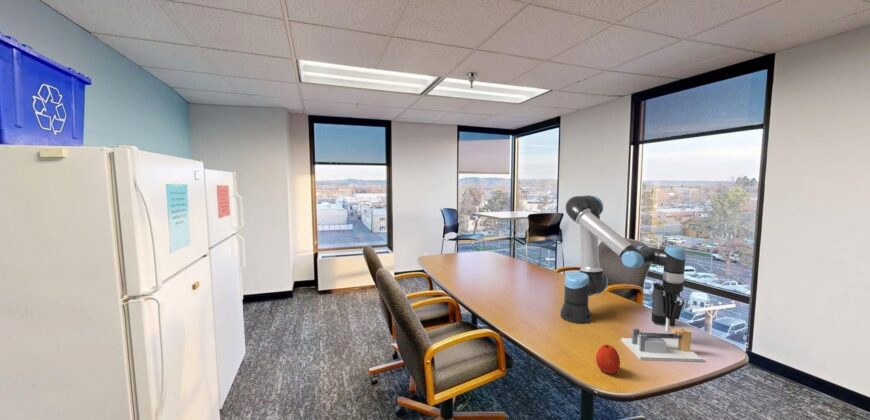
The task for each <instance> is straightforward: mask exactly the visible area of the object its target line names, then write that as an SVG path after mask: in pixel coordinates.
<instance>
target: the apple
mask: <svg viewBox="0 0 870 420" xmlns="http://www.w3.org/2000/svg"><path fill="white" fill-rule="evenodd" d="M595 362H596V364H597V367H598V369H599V370H600V371H602V372H604V373H606V374H610V375H613V374H615V373H617V372H618V371H619V369H620V367H621V366H620V365H621V359H620V355H619V353H618V351H617V349H616V348H615V347H614V346H613V345H610V344H603V345H601V346H600V347H599V348H598V350H597V352H596V353H595Z"/></svg>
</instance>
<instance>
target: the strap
mask: <svg viewBox="0 0 870 420" xmlns="http://www.w3.org/2000/svg"><path fill="white" fill-rule="evenodd" d="M635 333H636V334H637V335H638V336H639V337H640V335H647V338H661V339H671V340H678V339H681V336H679V334H674V333H667V332H666V333H665V332H663V333H660V332H657V333H656V332H655V333H638V332H635Z"/></svg>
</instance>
